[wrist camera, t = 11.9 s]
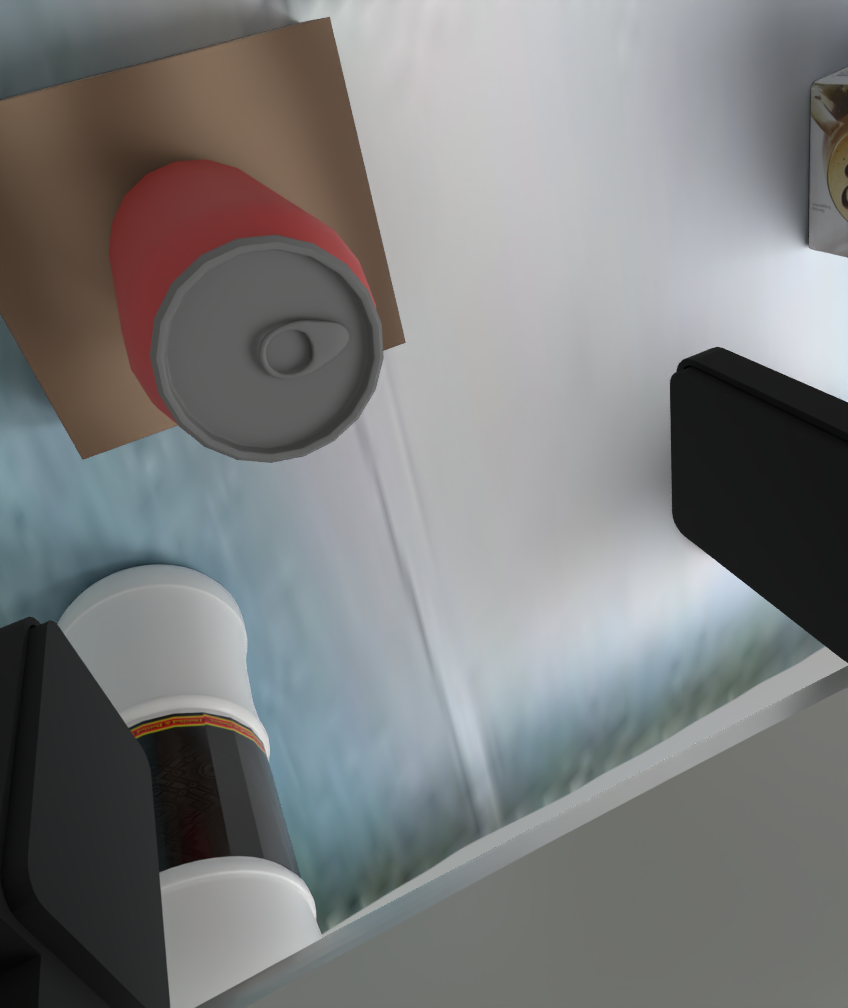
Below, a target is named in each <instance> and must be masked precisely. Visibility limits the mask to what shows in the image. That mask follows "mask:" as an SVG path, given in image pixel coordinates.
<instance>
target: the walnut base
mask: <svg viewBox="0 0 848 1008" xmlns="http://www.w3.org/2000/svg"><path fill="white" fill-rule="evenodd" d="M205 159H207V160H210V161H214V162H218V163H221V164H225V165H229V166H233V167H236V168H238V169H240V170H241V171H243V172H244V173H246V174H248V175H249V176H251V177H252V178H254V179H255V180H257V181H259V182H260V183H262V184H263V185H265V186H266V187H268V188H270V189H271V190H273V191H274V192H276V193H277V194H279V195H281V196H282V197H284V198H285V199H287V200H289V201H290V202H292V203H293V204H295V205H296V206H298V207H300V208H301V209H303V210H304V211H306V212H307V213H309V214H310V215H312V216H313V217H315V218H317V219H318V220H320V221H321V222H323V223H324V224H326V225H327V226H329V227H330V228H332V229H333V230H335V231H336V233H337V234H338V235H339V236H340V238H341V239H342V240H343V241H344V243H345V244H346V245H347V246H348V248H349V249H350V250H351V251H352V253H353V254H354V255H355V256H356V258H357V259H358V260H359V262H360V264H361V267H362V270H363V272H364V275H365V277H366V280H367V283H368V285H369V288H370V291H371V293H372V296H373V298H374V301H375V304H376V311H377V313H378V316H379V318H380V321H381V324H382V340H383V351H384V350H386V349H389V348H392V347H395V346H397V345H400V344H403V343H406V342H405V338H404V334H403V329H402V325H401V321H400V317H399V312H398V308H397V304H396V299H395V295H394V291H393V286H392V282H391V278H390V274H389V269H388V265H387V261H386V256H385V252H384V248H383V244H382V239H381V235H380V231H379V226H378V222H377V218H376V214H375V209H374V205H373V201H372V196H371V192H370V188H369V184H368V179H367V175H366V171H365V166H364V162H363V158H362V154H361V149H360V145H359V141H358V136H357V132H356V128H355V124H354V119H353V115H352V111H351V106H350V102H349V98H348V94H347V89H346V85H345V81H344V76H343V72H342V68H341V64H340V59H339V55H338V51H337V46H336V42H335V38H334V34H333V29H332V25H331V21H330V17H327V18H322V19H316V20H311V21H306V22H301V23H297V24H293V25H289V26H285V27H281V28H277V29H273V30H270V31H266V32H262V33H258V34H254V35H250V36H246V37H242V38H238V39H234V40H230V41H227V42H223V43H219V44H215V45H211V46H207V47H203V48H199V49H195V50H191V51H188V52H184V53H180V54H176V55H172V56H168V57H164V58H160V59H156V60H152V61H149V62H145V63H141V64H137V65H133V66H129V67H125V68H121V69H117V70H113V71H109V72H106V73H102V74H98V75H94V76H90V77H86V78H82V79H78V80H74V81H70V82H67V83H63V84H59V85H55V86H51V87H47V88H43V89H39V90H35V91H31V92H28V93H24V94H20V95H16V96H12V97H8V98H4V99H0V314H1V315H2V317H3V319H4V321H5V323H6V324H7V326H8V328H9V330H10V331H11V333H12V335H13V337H14V339H15V340H16V342H17V344H18V346H19V347H20V349H21V351H22V353H23V355H24V356H25V358H26V360H27V362H28V363H29V365H30V367H31V369H32V371H33V372H34V374H35V376H36V378H37V379H38V381H39V383H40V385H41V387H42V388H43V390H44V392H45V394H46V395H47V397H48V399H49V401H50V403H51V404H52V406H53V408H54V410H55V411H56V413H57V415H58V417H59V419H60V420H61V422H62V424H63V426H64V427H65V429H66V431H67V433H68V435H69V436H70V438H71V440H72V442H73V443H74V445H75V447H76V449H77V450H78V452H79V454H80V456H81V458H82V459H86V458H89V457H92V456H94V455H97V454H100V453H103V452H105V451H108V450H111V449H114V448H116V447H119V446H122V445H125V444H127V443H130V442H133V441H136V440H138V439H141V438H144V437H147V436H149V435H152V434H155V433H158V432H160V431H163V430H166V429H169V428H171V427H174V426H177V424H176V423H175V422H174V421H172V420H171V419H170V418H169V417H168V416H166V415H165V414H164V413H163V412H161V411H160V410H159V409H158V408H157V407H156V406H155V405H154V404H153V403H152V402H151V400H150V399H149V397H148V396H147V394H146V392H145V391H144V389H143V388H142V386H141V385H140V383H139V381H138V380H137V378H136V377H135V375H134V374H133V372H132V370H131V368H130V364H129V360H128V355H127V351H126V347H125V343H124V339H123V335H122V331H121V325H120V319H119V313H118V307H117V301H116V295H115V289H114V283H113V277H112V270H111V264H110V258H109V247H110V236H111V225H112V222H113V219H114V217H115V215H116V213H117V211H118V209H119V207H120V205H121V202H122V200H123V198H124V196H125V195H126V194H127V193H128V192H129V191H130V190H131V189H132V188H133V187H134V186H135V185H136V184H137V183H138V182H139V181H140V180H141V179H142V178H143V177H144V176H145V175H146V174H148V173H150V172H152V171H155V170H157V169H159V168H161V167H164V166H166V165H168V164H171V163H173V162H175V161H190V160H205Z"/></svg>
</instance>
